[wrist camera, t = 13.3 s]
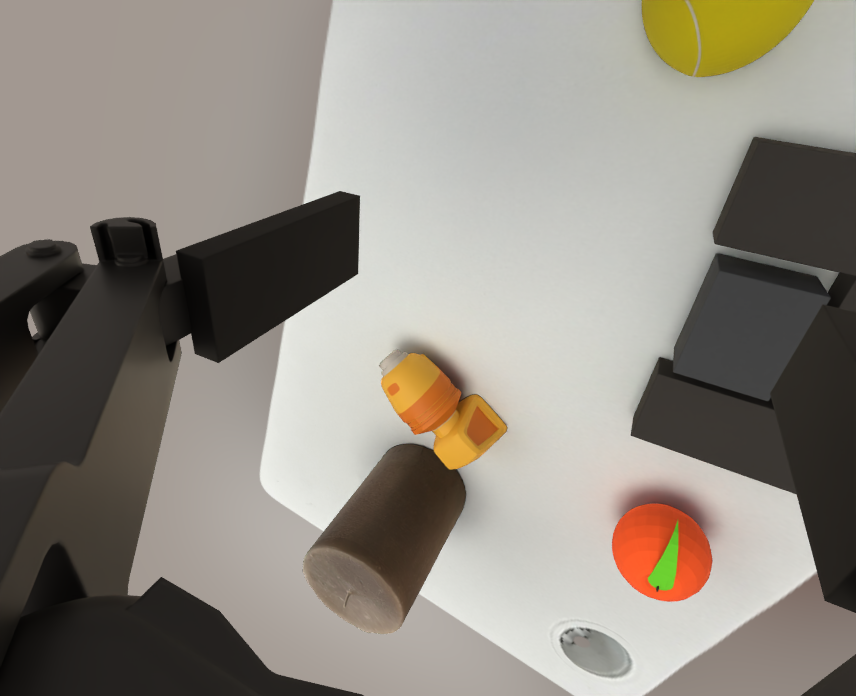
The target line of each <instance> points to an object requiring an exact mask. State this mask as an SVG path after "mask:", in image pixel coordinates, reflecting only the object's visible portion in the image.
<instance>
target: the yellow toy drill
mask: <svg viewBox="0 0 856 696" xmlns="http://www.w3.org/2000/svg"><path fill="white" fill-rule="evenodd" d="M379 366H380V367H381V369H382V370H383V371H382V372H381V373H382V375H383V378H382V381H381V385H382V388H383V390H384V392H385V394H386V396H387V397H388V399H389V401H390V403H391V405H392V406H393V408H394V410H395V412H396V413H397V414H398V415H399V417H400V418H401V419H402V420H403V421H404V423H405V422H406V423H407V424H408V425H409V426H410V428H411V431H412V432H413V433H414V434H415V435H416V434H420V433H425V432H429V431H432V432H433V433H434V434H435V435H436V438H435V442H434V452H435V454H436V455H437V456H438V457H439V458H440V460H441V461H442V462H443V463H444V464H445V466H446V467H447V468H448V469H450V470H451V469H458V468H461V467H463V466H465V465H467V464H469V463H471V462H473V461H475V460H476V459H478V458H479V457H480V456H481V455H483V454H484V453H485V452H486V451H487V450H488V449H489V448H490V447H491V446H492V445H493V444H494V443H495V442H496V441H497V440H498V439H499V438H500V437H501V436H502V435H503V434H504V433H505V432H506V431H507V427H506V425H505V424H504V422H503V421H502V420H501V419H500V418H499V417H498V415H497V414H496V413H495V412H494V411H493V410H492V409H491V408H490V406H489V405H488V404H487V403H486V402H485V401H484V400H483V399H482V398H481V397H480V396H478V395H476V394H475V395H471V396H469V397H466V398H465V399H463V400H462V401H460V402H459V399H460V396H461V391H460V390H459V389H457V388H455V387H454V385H453V384H451V382H450V381H451V380H450V379H449V378H448V377H447V376H446V375H445V374H444V373H443V372H442V371H441V370H440V369H439V368H438V367H437V366H436V365H435V364H434V363H433V362H432V361H430V360H429V359H428V358H427V357H426V356H425V355H424V354H422V355H419V354H416V353H410V354H409V355H408V354H407V353H405V352H403V353H401V352H400V351H399V350H398V349H397V350H394V351H393V352H392V353H391V354H390V355H388V356H387V357H386V358H385V359H384V360H383V361H382V362H381V363H380V365H379ZM458 402H459V403H458Z"/></svg>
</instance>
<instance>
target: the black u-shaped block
mask: <svg viewBox="0 0 856 696" xmlns="http://www.w3.org/2000/svg"><path fill="white" fill-rule="evenodd" d="M713 237H714V243H715V244H717V245H721V246H726V247H730V248H735V249H739V250H743V251H748V252H752V253H757V254H761V255H765V256H770V257H774V258H779V259H783V260H787V261H792V262H796V263H801V264H805V265H809V266H814V267H818V268H823V269H827V270H831V271H836V272H840V273H839V275H838V277H837V278H836V280H835V282H834V284H833V285H832V287H831V289H830V290H829V292H828V294H829V296H830V297H831V299H830V300H829V302H828V304H827V306H832V307H836V308H840V309H844V310H849V311H853V312H856V153H851V152H845V151H838V150H832V149H826V148H820V147H814V146H808V145H801V144H795V143H789V142H783V141H777V140H771V139H765V138H758V137H754V138H753V140H752V143H751V145H750V147H749V149H748V152H747V154H746V156H745V159H744V161H743V163H742V166H741V168H740V170H739V173H738V175H737V177H736V180H735V182H734V184H733V187H732V189H731V191H730V194H729V196H728V198H727V201H726V203H725V205H724V208H723V210H722V212H721V215H720V217H719V219H718V222H717V224H716V226H715V229H714V231H713ZM631 436H634V437H636V438H639V439H642V440H645V441H648V442H650V443H653V444H656V445H659V446H662V447H665V448H667V449H670V450H673V451H676V452H679V453H682V454H684V455H687V456H690V457H693V458H696V459H699V460H701V461H704V462H707V463H710V464H713V465H715V466H718V467H721V468H724V469H727V470H730V471H732V472H735V473H738V474H741V475H744V476H747V477H749V478H752V479H755V480H758V481H761V482H763V483H766V484H769V485H772V486H775V487H778V488H780V489H783V490H786V491H789V492H792V493H795V494H797V493H796V490H795V486H794V482H793V478H792V474H791V471H790V467H789V463H788V459H787V456H786V452H785V448H784V444H783V440H782V437H781V433H780V429H779V425H778V422H777V418H776V414H775V410H774V406H773V403H772V399H771V398H770V400H769V401H765V400H762V399H758V398H755V397H752V396H749V395H745V394H742V393H739V392H736V391H733V390H729V389H726V388H723V387H720V386H716V385H713V384H710V383H707V382H703V381H700V380H697V379H694V378H690V377H687V376H684V375H681V374H677V373H674V372H673V361H671V360H667V359H664V358H661V357H659V359H658V361H657V363H656V366H655V368H654V370H653V373H652V375H651V377H650V380H649V382H648V384H647V387H646V389H645V391H644V394H643V396H642V398H641V401H640V403H639V405H638V408H637V410H636V412H635V415H634V417H633V424H632V430H631Z"/></svg>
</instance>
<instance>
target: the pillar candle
mask: <svg viewBox="0 0 856 696" xmlns="http://www.w3.org/2000/svg"><path fill="white" fill-rule="evenodd" d="M465 499H466V491H465V486H464V484H463V480H462V479H461V477H460V475H459V474H458V472H457V471H456V469H451V470H450V469H448V468H447V467H446V466H445V464H444V463H443V462H442V461H441V460H440V458H439V457H438V456H437V455H436V454H435V452H434V451H433V450H430V449H428V448H425V447H422V446H418V445H413V444H403V445H397V446H395V447H393V448H391V449H390V450H388V451H387V452H386V454H385V455H384V456H383V457H382V459H381V460H380V461H379V462H378V464H377V465H376V466H375V467H374V469H373V470H372V471H371V473H370V474H369V475H368V476H367V478H366V479H365V480H364V481H363V483H362V484H361V485H360V487H359V488H358V489H357V490H356V492H355V493H354V494H353V495H352V497H351V498H350V499H349V500H348V502H347V503H346V504H345V505H344V507H343V508H342V509H341V510H340V512H339V513H338V514H337V516H336V517H335V518H334V519H333V521H332V522H331V523H330V524H329V526H328V527H327V528H326V529H325V531H324V532H323V533H322V535H321V536H320V537H319V538H318V540H317V541H316V542H315V544H314V545H313V546H312V547H311V548H310V550H309V551H308V552H307V554H306V556H305V558H304V561H303V573H304V575H305V579H306V581H307V583H308V584H309V585H310V587H311V588H312V589H313V590H314V591H315V593H316V595H317V597H318V598H319V599H321V600H322V602H323V603H324V604H325V605H326V606H327V607H328V608H329V609H330V610H332V611H333V612H334V613H336V614H337V615H338V616H339V617H340V618H342V619H343V620H345V621H347V622H348V623H350V624H352V625H354V626H356V627H357V628H359V629H360V630H362V631H364V632H367V633H371V632H374V633H378V634H387V633H392V632H395V631H396V630H398V629H399V628H400V627H401V626H402V623H403V622H404V620H405V618H406V616H407V614H408V612H409V610H410V608H411V606H412V605H413V603H414V601H415V599H416V597H417V595H418V593H419V592H420V590H421V588H422V586H423V584H424V582H425V580H426V578H427V576H428V574H429V573H430V571H431V568H432V567H433V565H434V563H435V561H436V559H437V557H438V555H439V553H440V551H441V549H442V547H443V545H444V544H445V542H446V540H447V538H448V536H449V534H450V532H451V530H452V529H453V527H454V525H455V523H456V521H457V519H458V518H459V516H460V514H461V512H462V510H463V507H464V504H465Z"/></svg>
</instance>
